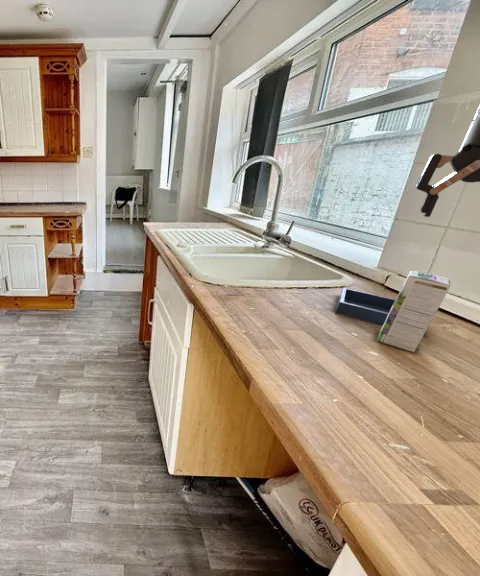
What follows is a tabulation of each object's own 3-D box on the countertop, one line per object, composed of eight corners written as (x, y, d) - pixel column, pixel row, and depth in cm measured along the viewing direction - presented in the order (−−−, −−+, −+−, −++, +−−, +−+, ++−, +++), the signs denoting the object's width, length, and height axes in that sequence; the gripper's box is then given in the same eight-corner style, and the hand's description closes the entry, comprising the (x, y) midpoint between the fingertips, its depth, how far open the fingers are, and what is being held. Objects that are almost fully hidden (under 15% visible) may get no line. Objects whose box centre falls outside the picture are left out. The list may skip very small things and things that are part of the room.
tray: (416, 315, 76) (421, 305, 75) (423, 336, 66) (429, 324, 65) (339, 297, 85) (343, 287, 84) (335, 312, 75) (339, 301, 74)
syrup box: (379, 332, 67) (408, 269, 61) (416, 343, 63) (451, 277, 57) (376, 341, 63) (407, 275, 57) (415, 353, 59) (452, 284, 54)
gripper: (577, 114, 46) (516, 223, 52) (441, 119, 54) (403, 212, 60) (605, 106, 40) (533, 228, 47) (449, 113, 49) (406, 216, 55)
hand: (460, 219), depth 53 cm, fingers open, 8 cm apart
